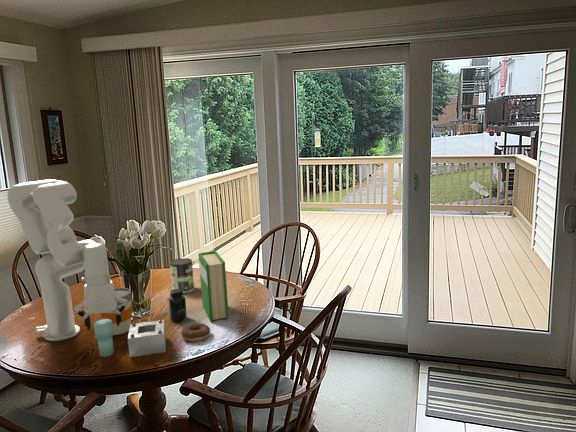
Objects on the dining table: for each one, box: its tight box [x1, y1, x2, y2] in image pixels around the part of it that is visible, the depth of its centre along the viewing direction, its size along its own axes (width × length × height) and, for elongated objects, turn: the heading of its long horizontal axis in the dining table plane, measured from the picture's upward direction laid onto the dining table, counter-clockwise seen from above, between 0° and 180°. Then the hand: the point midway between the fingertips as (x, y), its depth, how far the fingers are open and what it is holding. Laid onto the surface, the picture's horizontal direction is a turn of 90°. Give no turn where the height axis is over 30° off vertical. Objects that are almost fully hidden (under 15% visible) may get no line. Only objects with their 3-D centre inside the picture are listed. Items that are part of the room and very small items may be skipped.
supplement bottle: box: [168, 289, 188, 322], centre depth 194 cm, size 7×7×12 cm
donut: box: [180, 322, 211, 342], centre depth 178 cm, size 11×11×4 cm
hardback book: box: [198, 250, 230, 323], centre depth 197 cm, size 18×7×24 cm, turn 20°
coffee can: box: [169, 257, 195, 294], centre depth 227 cm, size 10×10×14 cm
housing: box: [127, 319, 167, 358], centre depth 171 cm, size 12×12×8 cm
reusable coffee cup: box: [99, 287, 133, 336], centre depth 186 cm, size 13×13×15 cm
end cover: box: [93, 318, 115, 358], centre depth 167 cm, size 6×6×12 cm
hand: (104, 326), depth 167 cm, fingers open, 9 cm apart
